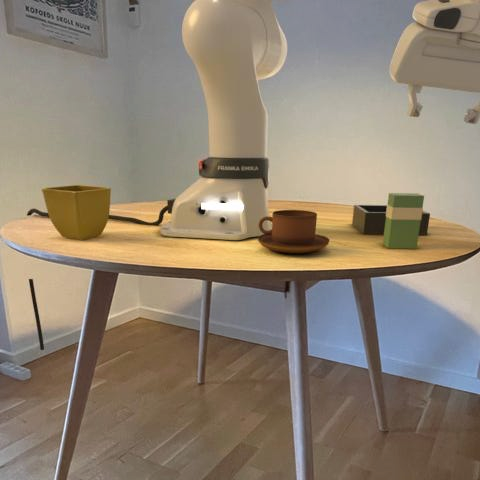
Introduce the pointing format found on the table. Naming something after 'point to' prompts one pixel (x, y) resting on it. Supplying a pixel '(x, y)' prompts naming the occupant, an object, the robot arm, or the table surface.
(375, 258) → the table surface
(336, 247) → the table surface
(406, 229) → the packet
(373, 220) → the dark open box
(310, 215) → the cup and saucer
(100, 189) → the flower pot
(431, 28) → the robot arm
